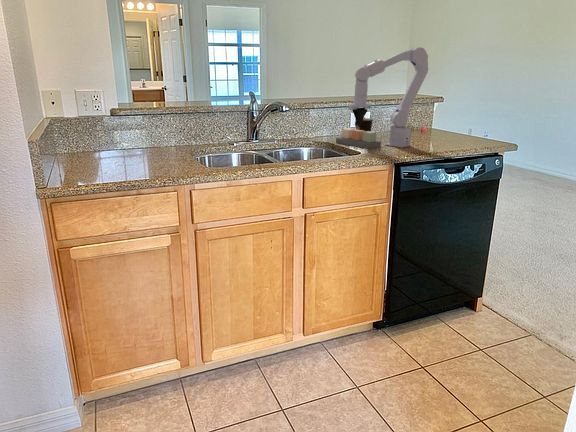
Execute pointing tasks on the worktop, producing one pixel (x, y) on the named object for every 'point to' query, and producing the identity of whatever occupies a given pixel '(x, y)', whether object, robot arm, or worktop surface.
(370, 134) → the block sage
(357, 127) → the coffee mug
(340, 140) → the compartment tray
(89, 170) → the worktop surface
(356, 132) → the block terracotta
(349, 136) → the block cream
